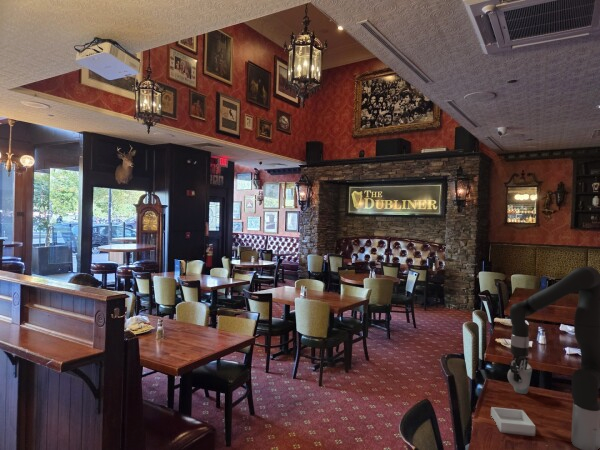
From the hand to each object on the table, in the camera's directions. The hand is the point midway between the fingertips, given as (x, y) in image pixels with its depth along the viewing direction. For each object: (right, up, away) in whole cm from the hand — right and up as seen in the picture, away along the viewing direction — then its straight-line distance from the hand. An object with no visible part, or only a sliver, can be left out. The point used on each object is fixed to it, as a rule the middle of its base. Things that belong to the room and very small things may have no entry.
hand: (518, 380), depth 186 cm
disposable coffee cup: (+17, -18, +28) cm, 37 cm away
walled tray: (-7, -18, -7) cm, 21 cm away
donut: (0, -4, 0) cm, 4 cm away
